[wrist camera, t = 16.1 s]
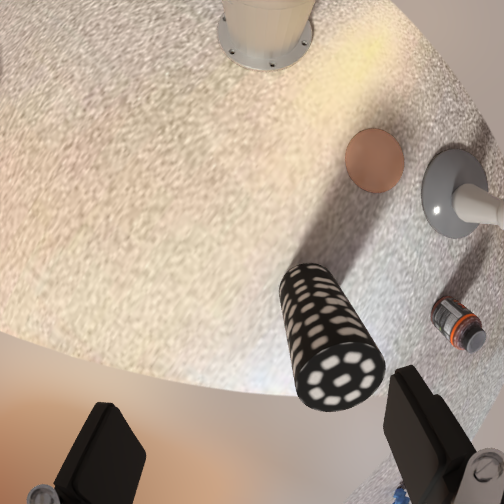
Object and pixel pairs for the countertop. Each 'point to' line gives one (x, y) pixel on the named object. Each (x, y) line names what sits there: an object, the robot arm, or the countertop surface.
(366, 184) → the terracotta spot
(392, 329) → the countertop surface
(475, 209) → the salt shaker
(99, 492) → the robot arm
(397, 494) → the grapes
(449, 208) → the slate plate
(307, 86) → the countertop surface
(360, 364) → the spotted tube
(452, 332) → the supplement bottle
